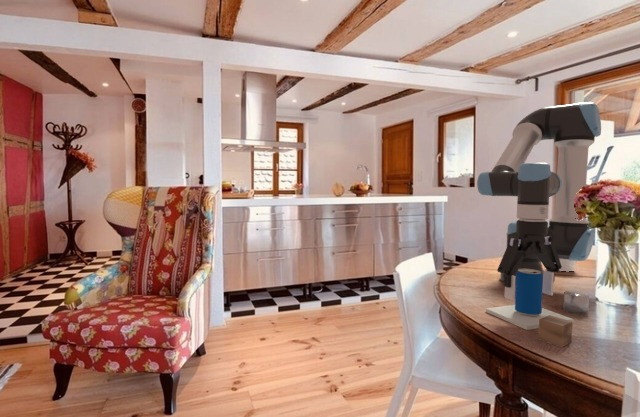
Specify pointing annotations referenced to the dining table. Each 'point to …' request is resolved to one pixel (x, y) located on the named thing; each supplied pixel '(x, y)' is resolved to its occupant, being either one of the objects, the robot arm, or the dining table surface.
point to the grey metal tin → (576, 302)
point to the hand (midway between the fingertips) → (528, 296)
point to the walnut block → (555, 330)
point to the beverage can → (528, 292)
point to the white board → (522, 316)
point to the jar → (567, 265)
